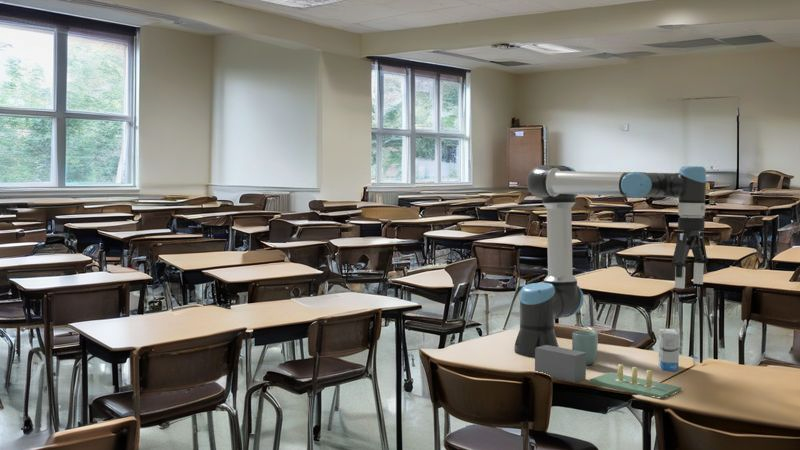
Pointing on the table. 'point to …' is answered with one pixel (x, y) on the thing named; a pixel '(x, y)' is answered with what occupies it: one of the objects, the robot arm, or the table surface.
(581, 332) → the cup
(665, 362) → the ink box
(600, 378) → the header
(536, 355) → the block
